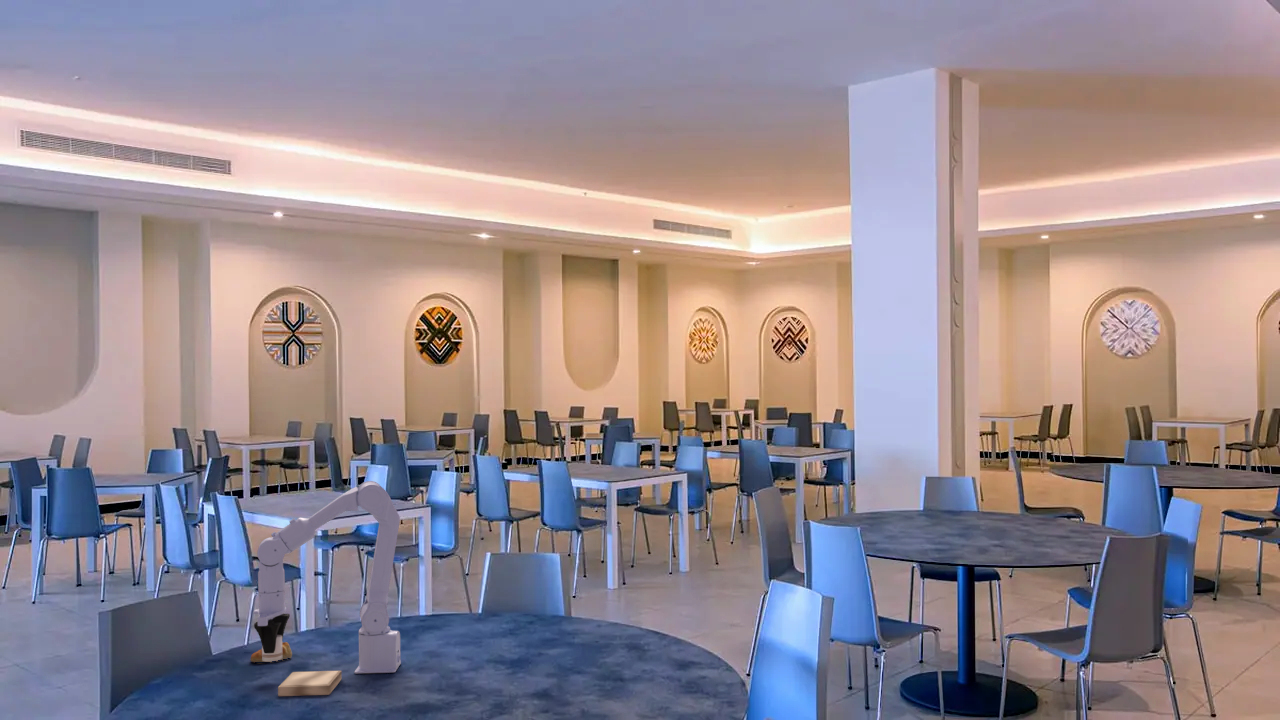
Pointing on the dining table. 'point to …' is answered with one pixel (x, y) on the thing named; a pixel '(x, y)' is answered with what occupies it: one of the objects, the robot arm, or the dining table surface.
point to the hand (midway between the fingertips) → (272, 649)
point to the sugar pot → (277, 653)
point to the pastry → (286, 654)
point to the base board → (310, 683)
